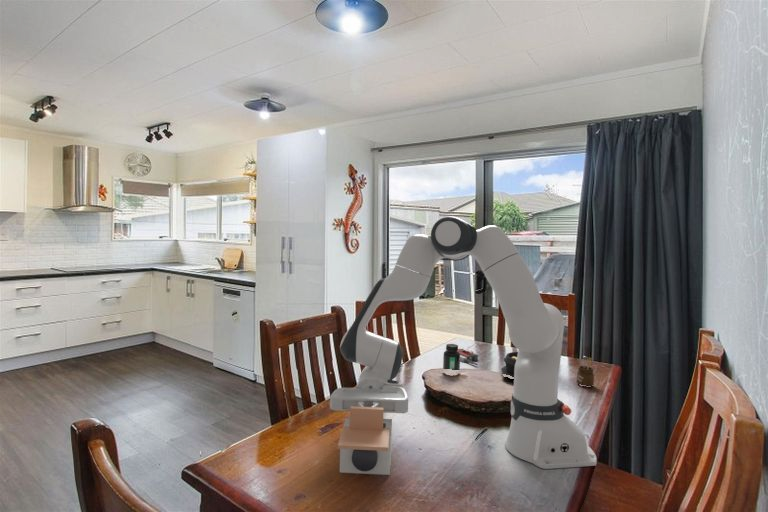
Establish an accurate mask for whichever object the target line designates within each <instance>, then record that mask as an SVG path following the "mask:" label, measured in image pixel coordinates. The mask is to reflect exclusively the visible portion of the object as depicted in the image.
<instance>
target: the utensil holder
mask: <svg viewBox="0 0 768 512" xmlns="http://www.w3.org/2000/svg"><path fill="white" fill-rule="evenodd" d="M584 359H586V362H585V363H584V362H582V363H583V364H582V365H579V366H578V369H577V372H576V384H577V383H578V384H581V385H586V386H592V385H593V386H594V383H595V382H594V381H595V376H594V375H595V374H594V373H593V372H594V368H593V367H591V364H592V357H587V356H585V355H584Z"/></svg>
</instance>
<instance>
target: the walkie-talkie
mask: <svg viewBox="0 0 768 512" xmlns="http://www.w3.org/2000/svg"><path fill="white" fill-rule="evenodd" d="M458 352H459V353H460V362H462V361H463V362H462V363H468V364H471V365H475V366H478V363H477V361H478V360H479V355H478V354H476V353H474V351H473V350H470V349H469V348H467V349H464V348H458ZM474 360H475V361H476V362H475V361H474Z"/></svg>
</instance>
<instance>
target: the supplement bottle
mask: <svg viewBox="0 0 768 512" xmlns="http://www.w3.org/2000/svg"><path fill="white" fill-rule="evenodd" d="M458 349H459V345H458V344H455V343H447V344H446V346H445V351H444V352H443V359H442V370H443V369H452V370H461V368H460V367H461V361H460V353H459V352H458Z"/></svg>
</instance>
